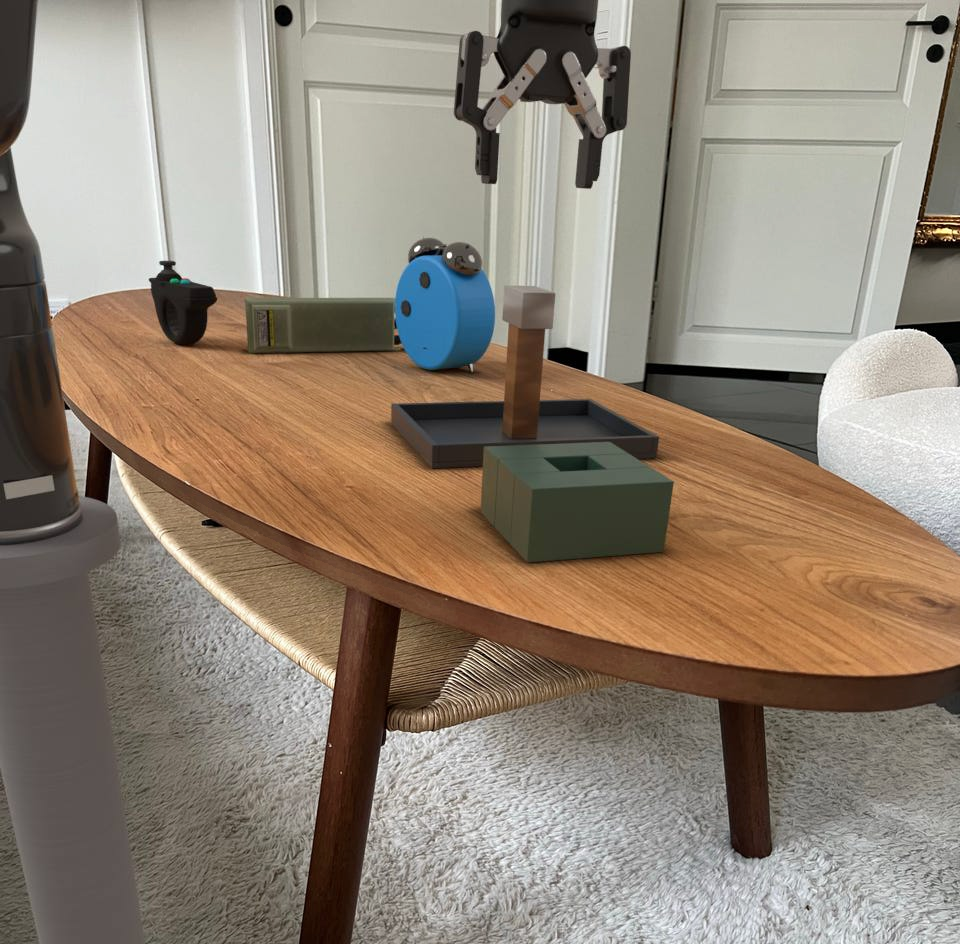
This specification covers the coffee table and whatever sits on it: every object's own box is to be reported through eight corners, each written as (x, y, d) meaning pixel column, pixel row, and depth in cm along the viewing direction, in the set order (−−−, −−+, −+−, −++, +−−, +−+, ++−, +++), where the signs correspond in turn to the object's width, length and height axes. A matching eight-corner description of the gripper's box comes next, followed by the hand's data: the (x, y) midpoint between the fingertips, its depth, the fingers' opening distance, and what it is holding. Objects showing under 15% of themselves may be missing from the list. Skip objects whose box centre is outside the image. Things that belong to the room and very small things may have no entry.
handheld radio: (247, 349, 123) (428, 346, 131) (250, 355, 120) (435, 351, 128) (243, 296, 119) (429, 296, 128) (247, 300, 117) (437, 300, 125)
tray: (431, 468, 79) (432, 445, 78) (391, 423, 91) (391, 403, 91) (656, 458, 85) (659, 436, 84) (589, 417, 98) (590, 398, 97)
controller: (180, 336, 129) (172, 258, 124) (225, 351, 121) (219, 268, 117) (150, 338, 126) (142, 259, 122) (194, 353, 118) (187, 269, 114)
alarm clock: (493, 376, 115) (501, 244, 108) (454, 380, 111) (459, 244, 104) (429, 358, 124) (432, 235, 117) (391, 361, 120) (392, 235, 113)
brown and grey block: (513, 442, 85) (523, 292, 80) (495, 429, 90) (504, 285, 84) (543, 441, 86) (555, 293, 80) (525, 428, 91) (535, 285, 85)
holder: (527, 562, 61) (532, 489, 59) (480, 512, 69) (483, 446, 67) (663, 552, 64) (674, 481, 61) (602, 505, 72) (610, 441, 70)
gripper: (616, -31, 76) (595, 189, 84) (449, -53, 72) (442, 180, 79) (659, -48, 70) (632, 192, 77) (479, -73, 66) (468, 183, 73)
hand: (536, 186), depth 78 cm, fingers open, 8 cm apart
